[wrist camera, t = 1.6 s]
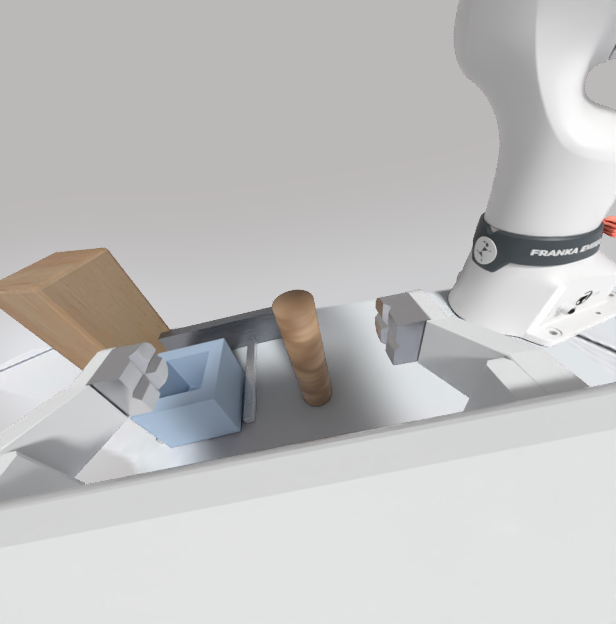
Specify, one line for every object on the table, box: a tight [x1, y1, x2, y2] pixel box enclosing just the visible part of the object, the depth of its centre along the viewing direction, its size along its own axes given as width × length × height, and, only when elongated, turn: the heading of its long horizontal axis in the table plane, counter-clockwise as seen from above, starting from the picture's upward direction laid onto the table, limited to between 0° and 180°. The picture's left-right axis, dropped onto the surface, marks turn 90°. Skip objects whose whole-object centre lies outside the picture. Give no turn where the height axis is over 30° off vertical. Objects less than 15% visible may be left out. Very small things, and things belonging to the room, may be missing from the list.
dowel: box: [272, 290, 332, 406], centre depth 27 cm, size 4×4×16 cm
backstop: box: [156, 307, 282, 444], centre depth 35 cm, size 20×16×6 cm
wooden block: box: [0, 248, 171, 370], centre depth 37 cm, size 10×10×20 cm
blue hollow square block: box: [130, 338, 244, 448], centre depth 31 cm, size 9×9×8 cm
